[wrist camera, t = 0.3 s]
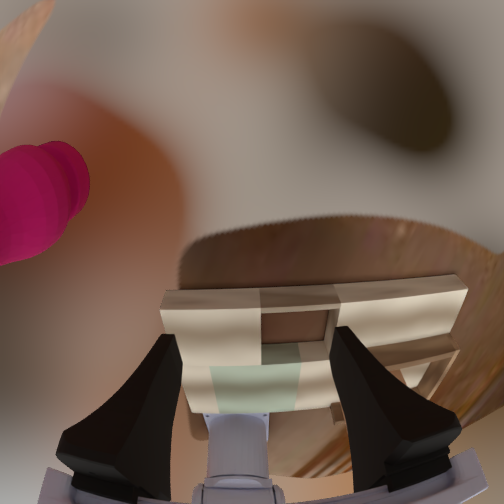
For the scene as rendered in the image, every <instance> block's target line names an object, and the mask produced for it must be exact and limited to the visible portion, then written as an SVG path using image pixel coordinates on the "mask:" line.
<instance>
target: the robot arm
mask: <svg viewBox="0 0 504 504" xmlns="http://www.w3.org/2000/svg"><path fill="white" fill-rule="evenodd" d="M329 361H330V367H331V372H332V377H333V380H334V383H335V386H336V390H337V393H338V396H339V399H340V403H341V406H342V409H343V412H344V416H345V420H346V425H347V431H348V437H349V443H350V451H351V459H352V469H353V485H354V493H353V494H347V495H343V496H337V497H332V498H326V499H320V500H314V501H306V502H298V503H288V504H461V503H463V502H465V501H467V500H469V499H470V498H472V497H474V496H475V495H477V494H479V493H480V492H482V491H484V490H485V489H487V488H488V484H487V481H486V478H485V475H484V473H483V470H482V467H481V465H480V462H479V460H478V457H477V455H476V452H475V450H474V448H470V449H468V450H466V451H464V452H461V453H459V454H457V455H455V456H453V457H452V458H450V459H449V457H448V454H449V453H450V449H449V447H448V446H449V445H450V443H452V442H453V441H454V440H455V439H456V438H457V437H458V436H459V434H460V433H461V430H462V427H461V425H460V422H459V420H458V418H457V416H456V414H455V413H454V412H452V411H450V410H448V409H445V408H443V407H441V406H439V405H437V404H435V403H433V402H431V401H429V400H427V399H426V398H424V397H422V396H421V395H419V394H418V393H416V392H415V391H413V390H412V389H410V388H409V387H408V386H406V385H405V384H404V383H402V382H401V381H400V380H399V379H397V378H396V377H395V376H394V375H393V374H392V373H391V372H389V371H388V370H387V369H386V368H385V367H384V366H383V365H382V364H381V363H380V362H379V361H378V360H377V359H376V358H375V357H374V355H373V354H372V353H371V352H370V351H369V350H368V349H367V348H366V347H365V346H364V344H363V343H362V342H361V341H360V340H359V338H358V337H357V336H356V335H355V334H354V332H353V331H352V330H351V329H350V328H349V327H348V326H339V327H335V329H334V334H333V339H332V344H331V349H330V353H329ZM182 370H183V361H182V358H181V355H180V351H179V348H178V344H177V341H176V337H175V334H161V335H160V337H159V338H158V340H157V341H156V343H155V344H154V346H153V347H152V348H151V350H150V351H149V353H148V354H147V356H146V357H145V358H144V360H143V361H142V362H141V364H140V365H139V366H138V368H137V369H136V370H135V371H134V373H133V374H132V375H131V376H130V378H129V379H128V380H127V381H126V382H125V383H124V385H123V386H122V387H121V388H120V389H119V390H118V391H117V392H116V393H115V394H114V395H113V396H112V397H111V398H110V399H108V401H106V402H105V403H104V404H103V405H102V406H101V407H99V408H98V409H97V410H96V411H94V412H93V413H91V415H89V416H87V417H86V418H85V419H83V420H82V421H80V422H78V423H77V424H75V425H73V426H71V427H70V428H68V429H66V430H64V431H63V433H62V436H61V438H60V441H59V445H58V448H57V451H56V456H57V458H58V459H59V460H60V461H61V462H62V463H64V464H65V465H66V466H67V467H69V468H70V469H71V470H73V471H74V475H73V477H72V476H71V475H69V474H66V473H63V472H60V471H58V470H55V469H52V468H50V467H48V468H47V471H46V474H45V477H44V481H43V484H42V488H41V492H40V496H39V500H38V504H187V503H178V502H170V500H171V491H170V455H171V454H170V453H171V438H172V426H173V421H174V416H175V411H176V406H177V401H178V396H179V392H180V387H181V381H182ZM203 416H204V419H205V422H206V425H207V428H208V431H209V444H208V461H207V478H205V480H204V484H201V483H200V484H198V485H197V486H196V487H194V490H193V495H192V504H285V497H284V493H283V490H282V489H281V488H280V487H279V486H278V485H272V479H269V470H268V455H267V441H268V431H269V412H267V413H237V414H215V413H203Z"/></svg>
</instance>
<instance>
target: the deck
mask: <svg viewBox="0 0 504 504" xmlns="http://www.w3.org/2000/svg"><path fill="white" fill-rule="evenodd" d="M467 291H468V288H467V287H466V286H465V284H464V283H463V282H462V281H461V280H460V279H459V278H458V277H457V276H456V275H455V274H452V275H442V276H432V277H421V278H410V279H398V280H385V281H372V282H358V283H343V284H327V285H310V286H290V287H268V288H241V289H205V290H166V292H165V295H164V298H163V300H162V303H161V306H160V309H159V310H160V314H161V318H162V321H163V325H164V328H165V332H166V334H175V337H176V341H177V344H178V348H179V351H180V355H181V358H182V361H183V370H182V381H181V383H182V386H183V389H184V392H185V394H186V397H187V400H188V403H189V406H190V408H191V411H192V413H215V414H237V413H267V412H283V411H295V410H306V409H315V408H323V407H330V405H331V403H335V402H340V400H339V396H338V393H337V390H336V386H335V383H334V380H333V377H332V372H331V367H330V361H329V353H330V349H331V344H332V339H333V334H334V329H335V327H339V326H348V327H349V328H350V329H351V330H352V331H353V332H354V334H355V335H356V336H357V337H358V338H359V340H360V341H361V342H362V343H363V344H364V346H365V347H366V348H367V347H374V346H380V345H387V344H393V343H399V342H405V341H411V340H416V339H421V338H426V337H431V336H436V335H441V334H445V333H450V330H451V328H452V326H453V324H454V322H455V320H456V317H457V315H458V313H459V311H460V308H461V306H462V303H463V301H464V299H465V296H466V294H467ZM326 309H329V314H328V320H327V325H326V331H325V336H324V340H322V341H311V342H298V343H283V344H263V345H261V313H278V312H296V311H312V310H326ZM430 363H431V362H429V363H425V364H421V365H417V366H412V367H407V368H403V369H400V371H401V373H402V375H403V378H404V380H405V382H406V384H407V386H408V387H409V388H412V387H416V386H417V385H418V384H419V382H420V380H421V379H422V377H423V375H424V373H425V372H426V370H427V368H428V366H429V364H430Z"/></svg>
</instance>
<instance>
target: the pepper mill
mask: <svg viewBox="0 0 504 504" xmlns="http://www.w3.org/2000/svg"><path fill="white" fill-rule="evenodd" d="M89 189H90V178H89V173H88V169H87V166H86V164H85V162H84V160H83V158H82V156H81V155H80V153H79V152H78V151H77V150H76V149H75V148H74V147H72V146H70V145H69V144H67V143H65V142H61V141H51V142H48V143H45V144H42V145H39V146H33V145H20V146H17V147H14V148H12V149H10V150H8V151H6V152H4V153H2V154H1V155H0V266H1V265H4V264H7V263H10V262H15V261H19V260H23V259H28V258H30V257H33V256H35V255H37V254H40V253H41V252H43V251H45V250H46V249H48V248H49V247H50V246H52V245H53V244H54V243H55V242H56V241H57V240H58V239H59V238H60V237H61V235H62V234H63V232H64V230H65V228H66V226H67V223H68V221H69V220H70V219H72V218H73V217H74V216H75V215H76V214H78V213H79V212H80V211H81V210H82V208H83V206H84V205H85V203H86V201H87V198H88V195H89Z"/></svg>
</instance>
